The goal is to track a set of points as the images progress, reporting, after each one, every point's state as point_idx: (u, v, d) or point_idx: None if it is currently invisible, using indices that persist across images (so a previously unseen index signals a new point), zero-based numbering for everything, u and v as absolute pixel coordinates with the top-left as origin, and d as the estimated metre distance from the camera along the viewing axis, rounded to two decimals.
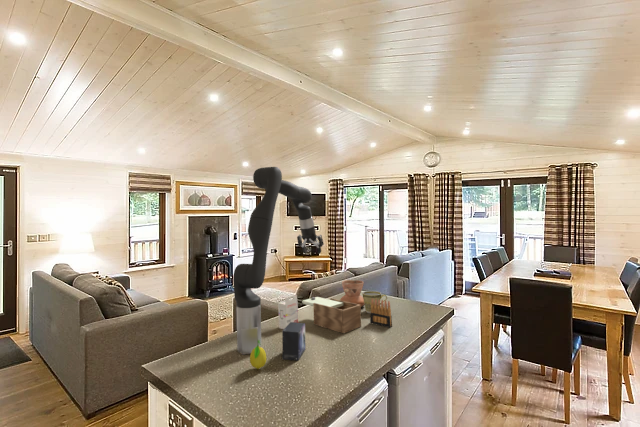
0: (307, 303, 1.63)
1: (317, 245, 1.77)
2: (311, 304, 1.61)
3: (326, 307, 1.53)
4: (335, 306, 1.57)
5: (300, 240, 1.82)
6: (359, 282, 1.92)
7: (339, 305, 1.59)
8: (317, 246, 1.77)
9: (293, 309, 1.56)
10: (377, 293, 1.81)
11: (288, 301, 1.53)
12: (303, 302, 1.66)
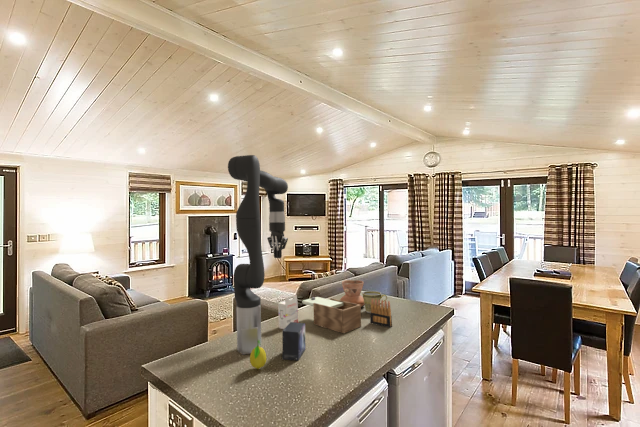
0: (307, 303, 1.63)
1: (277, 247, 1.57)
2: (311, 304, 1.61)
3: (326, 307, 1.53)
4: (335, 306, 1.57)
5: (271, 241, 1.61)
6: (359, 282, 1.92)
7: (339, 305, 1.59)
8: (277, 248, 1.57)
9: (293, 309, 1.56)
10: (377, 293, 1.81)
11: (288, 301, 1.53)
12: (303, 302, 1.66)
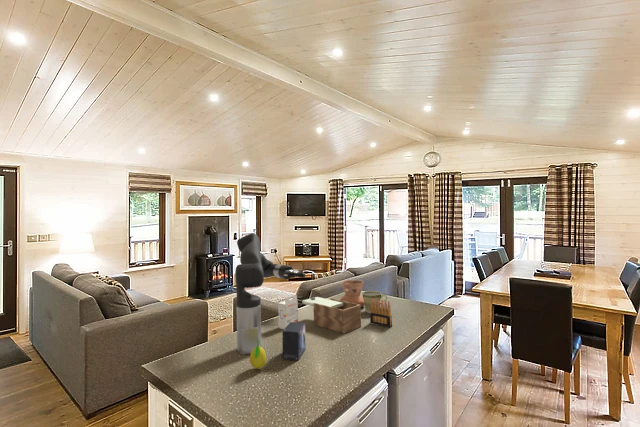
0: (307, 303, 1.63)
1: (298, 271, 1.77)
2: (311, 304, 1.61)
3: (326, 307, 1.53)
4: (335, 306, 1.57)
5: None
6: (359, 282, 1.92)
7: (339, 305, 1.59)
8: (299, 272, 1.76)
9: (293, 309, 1.56)
10: (377, 293, 1.81)
11: (288, 301, 1.53)
12: (303, 302, 1.66)
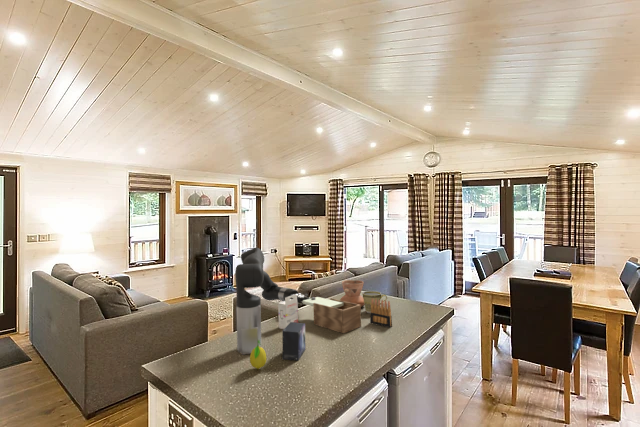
0: (307, 303, 1.63)
1: (304, 296, 1.74)
2: (311, 304, 1.61)
3: (326, 307, 1.53)
4: (335, 306, 1.57)
5: None
6: (359, 282, 1.92)
7: (339, 305, 1.59)
8: (304, 296, 1.73)
9: (293, 309, 1.56)
10: (377, 293, 1.81)
11: (288, 301, 1.53)
12: (303, 302, 1.65)
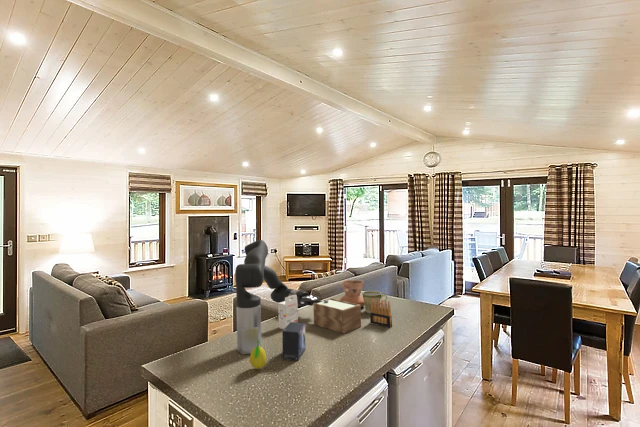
0: None
1: (315, 299, 1.67)
2: None
3: (326, 307, 1.53)
4: None
5: None
6: (359, 282, 1.92)
7: None
8: (316, 299, 1.67)
9: (293, 309, 1.56)
10: (377, 293, 1.81)
11: (288, 301, 1.53)
12: None
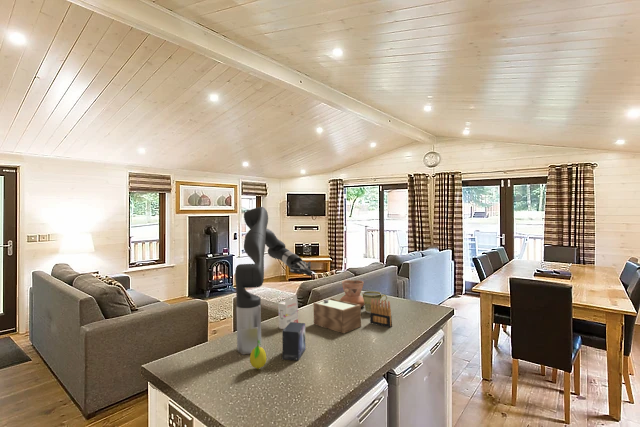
0: None
1: (305, 267, 1.69)
2: None
3: (326, 307, 1.53)
4: None
5: None
6: (359, 282, 1.92)
7: None
8: (306, 267, 1.68)
9: (293, 309, 1.56)
10: (377, 293, 1.81)
11: (288, 301, 1.53)
12: None
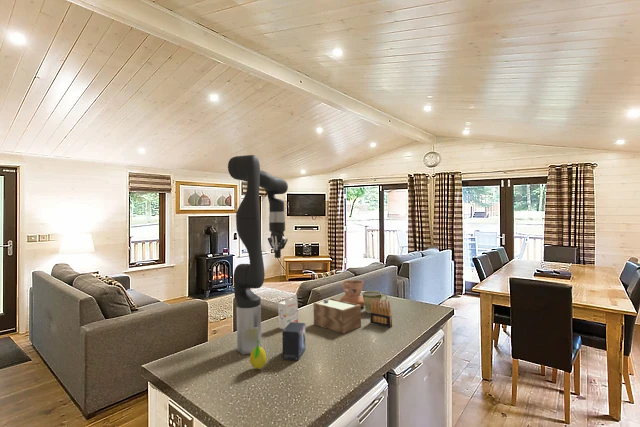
0: None
1: (276, 247, 1.57)
2: None
3: (326, 307, 1.53)
4: None
5: None
6: (359, 282, 1.92)
7: None
8: (276, 248, 1.57)
9: (293, 309, 1.56)
10: (377, 293, 1.81)
11: (288, 301, 1.53)
12: None
